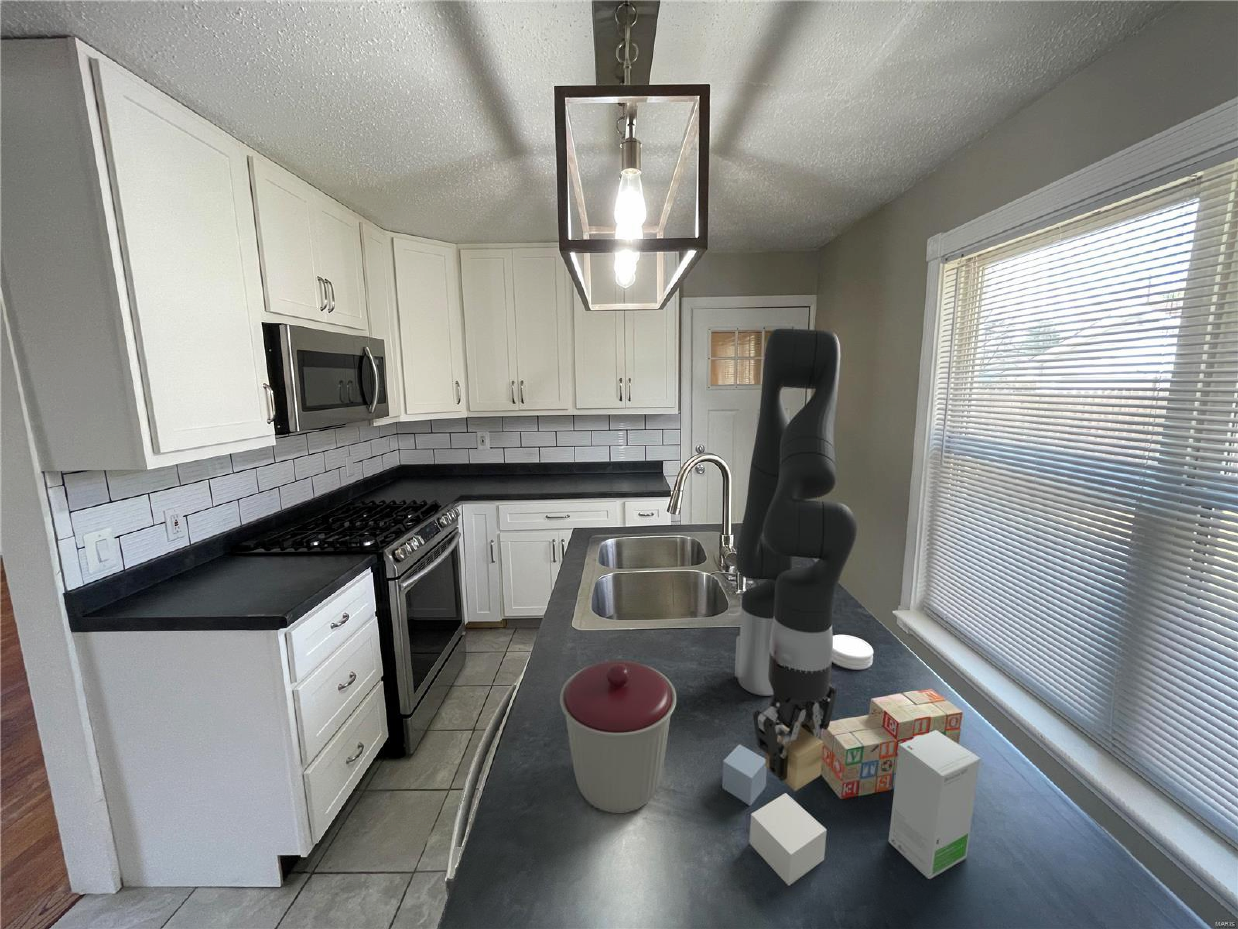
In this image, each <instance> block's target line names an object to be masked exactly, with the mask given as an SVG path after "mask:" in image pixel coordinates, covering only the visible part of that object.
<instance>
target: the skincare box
mask: <svg viewBox="0 0 1238 929" xmlns="http://www.w3.org/2000/svg"><path fill="white" fill-rule="evenodd" d="M980 760H981V757H979V756H977V755H976V754H975V753H973V752H972V751H970V750H968V749H966V748H965V747H963V746H961V744H960V743H959V744H957V743H955V742H954V741H952V740H951V739H949V738H948V737H946V736H944V735H943V734H941V733H940V732H938V731H937V730H935V731H933V732H930V733H927V734H925V735H917V736H915V737H914V739H912V740H909V741H907V742H904V743H901V744H899V746H898V760H897V769H896V778H895V787H894V789H893V797H892V798H893V799H892V808H891V817H890V823H889V824H890V825H889V834H888V840H887V841H888V843H889V844H890V845H891V846H892V847H894V849H896V851H897V852H899V853H900V854H901V855H902V856H903V857H904V858H905V859H906V860H907V861H908V862H909V863H910V864H911V865H912V866H913V867H914V868H916V870H918V871H919V872H920V873H921V874H922V875H923V876H924V877H925V878H927V879H929V880H931V879H933V878H935V877H937V876H938V875H940V874H941V873H943V872H945V871H948V870H949V869H950V868H951V867H953V866H954V865H956V864H958V863H960V862H962V861H964V860H965V859H967V857H968V851H969V850H968V849H969V844H970V843H969V842H970V835H971V829H972V828H971V827H972V820H973V813H974V804H975V796H976V790H977V789H976V788H977V783H978V782H977V781H978V776H979V775H978V774H979V767H980Z"/></svg>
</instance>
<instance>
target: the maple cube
mask: <svg viewBox="0 0 1238 929" xmlns="http://www.w3.org/2000/svg"><path fill="white" fill-rule="evenodd" d="M780 725H781V726H782V727H784V728H785V729H786V730H788V731H789V728H787V727H786V726H784V725H783V724H780ZM820 739H821V738H817V737H816V736H814V735H813V734H811V733H810V732H809V731H807V730H806V729H804V728H803V727H802V726H800V728H799V731H798V734H797V738H796V740H795V741H792V742H791V745H790V748H789V751H788V754H787V756H788V764H787V778H786V779H785V780H784V781H783V782H784V783H785V784H786V785H788V787H790V788H791V789H792V790H793V791H794V792H797V791H799V790H800V789H801V788H803V787H804V786H806V785H807V784H809V783H810V782H813V780H815V779H818V777H820V776H822V775H821V763H822V750H823V741H821V740H820ZM782 741H783V739H782V737H781V736H779V735H778V739H777V742H778V743H780V744H782ZM765 759H766V762H765V766H766V767H767V769H769V761H770V756H769V755H768V754H766V753H765Z"/></svg>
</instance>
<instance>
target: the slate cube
mask: <svg viewBox="0 0 1238 929" xmlns="http://www.w3.org/2000/svg"><path fill="white" fill-rule="evenodd" d="M722 762H723V763H722V781H721V783H722V784H721V785H722V787H721V788H722V789H723V790H724V791H727V792H728V793H730V794H731V795H733V796H734V797H735V798H737V799H739V801H740V800H741V801H742V802H743V803H745V804H747V805H748V806H750V807H751V805H752V804H753V803H754V802H755V801H756V800H757V798H758V797H759V796H760V795H761V794H762V792H763V791H764V789H766V786H767V772H768V770H767V769H768V768H767V767H766V766H765V762H766V757H765V758H764V757H763V756H761V755H759V753H758V754H757V753H755V752H754V751H752V750H751V749H748V748H747V747H745V746H743V745H742V744H738V745H737V746H736V747H735V748H734V749H733V750H732V752H730V753H729V754H728V756H726V757H725V758H724V759H723V761H722Z"/></svg>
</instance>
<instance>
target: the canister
mask: <svg viewBox="0 0 1238 929" xmlns="http://www.w3.org/2000/svg"><path fill="white" fill-rule="evenodd" d="M559 705H560V708H561V710H562V713H563V714H564V716H565V720H566V728H567V732H568V733H567V735H568V742H569V747H570V754H571V761H572V766H573V772H574V775H575V781H576V784H577V787H578V789H579V791H580V792H581V794H582V796H583V797H584V799H585V800H586V801H588V803H589V804H590V805H592V806H593V807H594V808H597V809H599V810H600V811H605V812H606V813H612V814H616V813H617V814H622V813H626V814H627V813H629V812H634V811H635V810H638V809H640V808H641V807H644V806H645V805H646V804H647V803H649V801H651V799H652V798H653V797H654V796H655V794H656V792H657V791H658V788H659V785H660V783H661V781H662V775H663V769H664V763H665V757H666V752H667V744H668V735H669V730H670V724H671V723H670V721H671V716H672V714H673V713H674V711H675V709H676V708H675V707H676V705H677V693H676V689H675V687H674V685H673V684H672V682H671V681H670V680H669V679H668V677H667V676H665V675H664V674H663V673H661V672H660V671H658V669H656V668H653V667H652V666H649V665H646V664H642V663H639V662H636V661H630V660H622V659H621V660H607V661H601V662H597V663H593V664H591V665H589V666H586V667H584V668H582V669H580V670H578V671H577V672H575V673H574V674H572V675H571V676H570V677H569V678H568V679H567V680H566V681H565V683H564V684H563V686H562V688H561V690H560V695H559Z"/></svg>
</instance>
